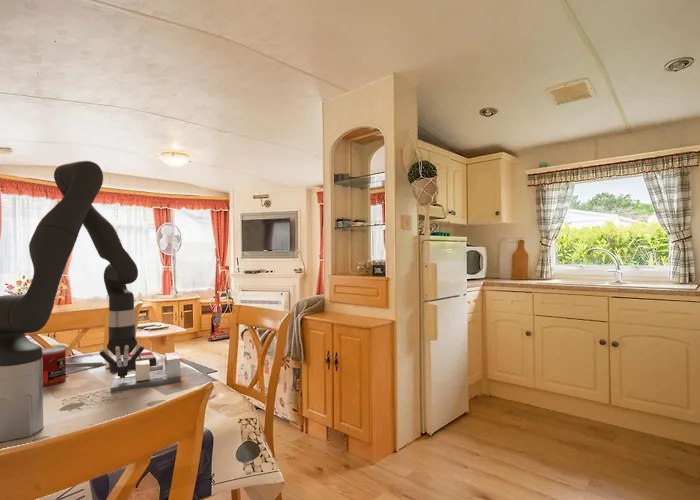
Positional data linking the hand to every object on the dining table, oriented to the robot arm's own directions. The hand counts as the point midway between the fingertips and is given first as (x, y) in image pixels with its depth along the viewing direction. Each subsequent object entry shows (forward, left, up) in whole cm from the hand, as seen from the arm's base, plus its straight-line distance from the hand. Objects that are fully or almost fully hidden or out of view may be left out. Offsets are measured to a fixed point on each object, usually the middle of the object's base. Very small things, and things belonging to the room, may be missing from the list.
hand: (122, 377), depth 127 cm
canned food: (+18, +21, -3) cm, 28 cm away
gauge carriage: (+2, -8, -1) cm, 8 cm away
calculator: (+26, -3, -4) cm, 27 cm away
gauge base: (+1, -7, -3) cm, 7 cm away
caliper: (+30, +16, -3) cm, 34 cm away
